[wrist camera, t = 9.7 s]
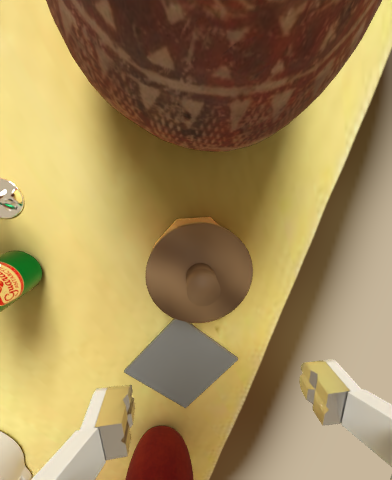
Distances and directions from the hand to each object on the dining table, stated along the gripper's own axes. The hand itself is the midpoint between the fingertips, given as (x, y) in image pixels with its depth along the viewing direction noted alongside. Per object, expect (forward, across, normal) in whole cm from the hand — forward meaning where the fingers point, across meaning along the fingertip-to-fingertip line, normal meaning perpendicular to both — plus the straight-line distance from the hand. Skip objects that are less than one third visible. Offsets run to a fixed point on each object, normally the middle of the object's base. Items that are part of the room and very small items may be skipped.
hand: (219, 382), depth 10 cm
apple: (+18, +6, +31) cm, 37 cm away
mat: (+18, +2, +17) cm, 25 cm away
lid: (+13, -1, 0) cm, 13 cm away
